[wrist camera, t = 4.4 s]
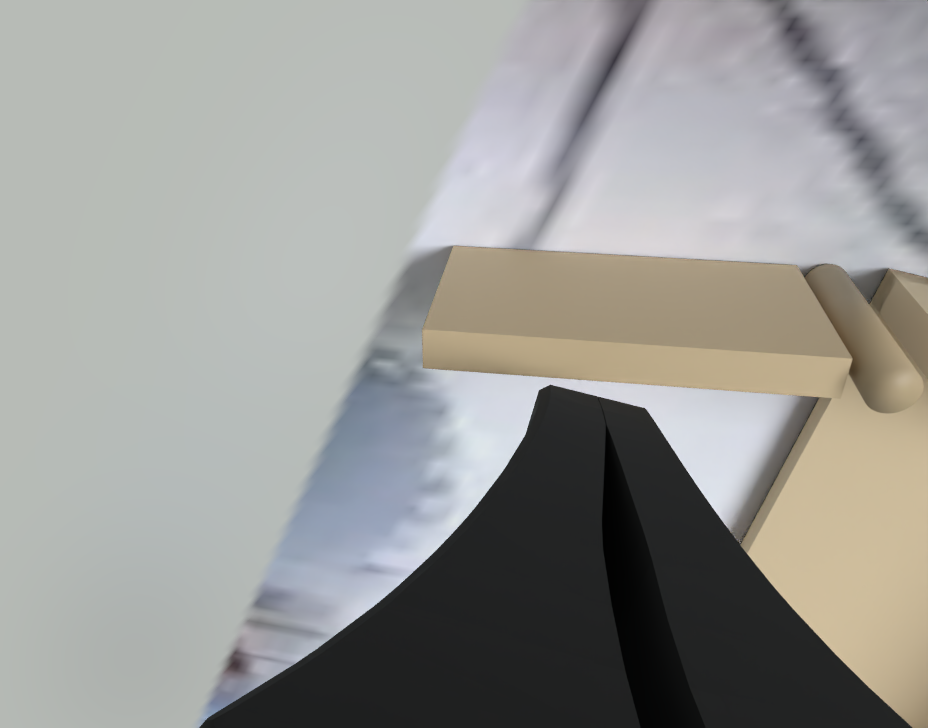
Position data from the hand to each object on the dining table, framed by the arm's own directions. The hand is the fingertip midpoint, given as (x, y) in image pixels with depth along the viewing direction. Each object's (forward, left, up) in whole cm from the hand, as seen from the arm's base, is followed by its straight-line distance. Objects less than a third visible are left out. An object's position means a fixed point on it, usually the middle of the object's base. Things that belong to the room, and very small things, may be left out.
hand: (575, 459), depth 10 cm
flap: (+1, -1, -4) cm, 4 cm away
